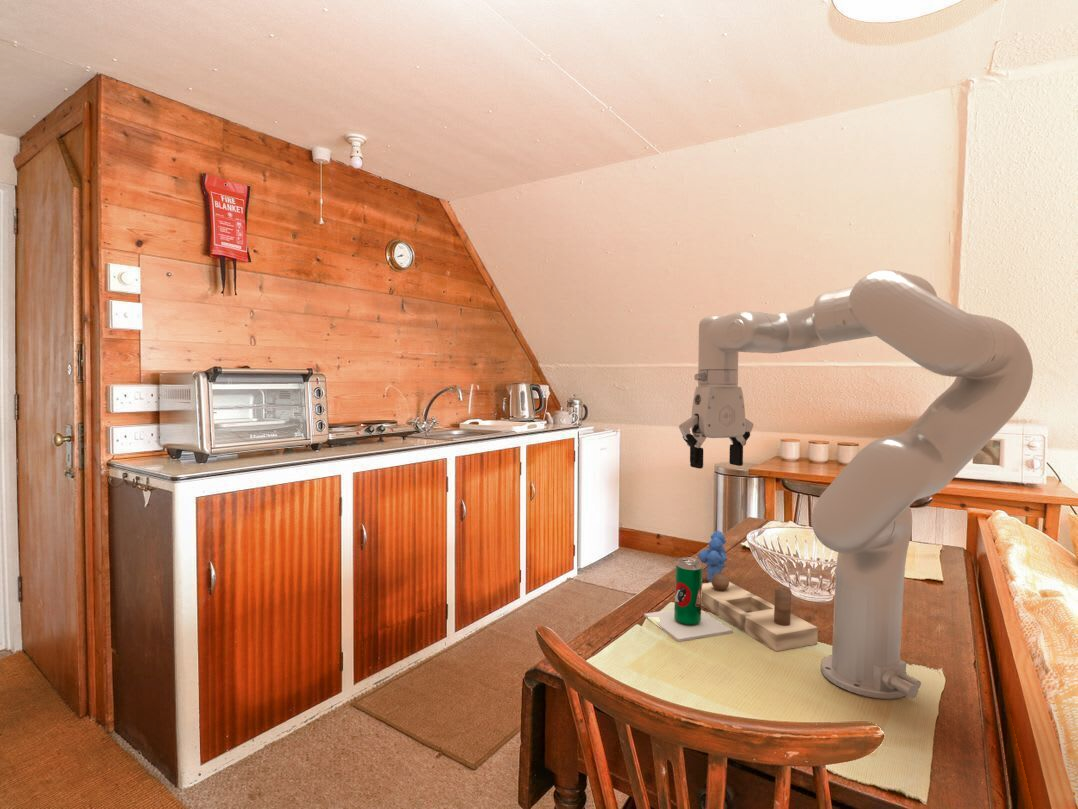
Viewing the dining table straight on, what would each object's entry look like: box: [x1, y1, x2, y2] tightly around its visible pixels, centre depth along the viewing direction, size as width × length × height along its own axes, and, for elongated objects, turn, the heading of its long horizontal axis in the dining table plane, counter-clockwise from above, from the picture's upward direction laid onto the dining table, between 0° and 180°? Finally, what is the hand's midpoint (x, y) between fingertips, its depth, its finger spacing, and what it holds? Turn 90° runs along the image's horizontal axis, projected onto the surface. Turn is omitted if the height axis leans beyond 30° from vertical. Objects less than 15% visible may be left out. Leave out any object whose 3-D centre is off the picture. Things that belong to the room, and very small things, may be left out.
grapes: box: [697, 530, 728, 583], centre depth 139 cm, size 12×7×12 cm, turn 155°
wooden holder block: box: [701, 572, 819, 652], centre depth 118 cm, size 26×9×9 cm, turn 21°
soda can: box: [673, 556, 704, 626], centre depth 116 cm, size 5×5×12 cm
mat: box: [643, 609, 734, 643], centre depth 116 cm, size 12×12×1 cm
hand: (716, 466), depth 118 cm, fingers open, 9 cm apart
